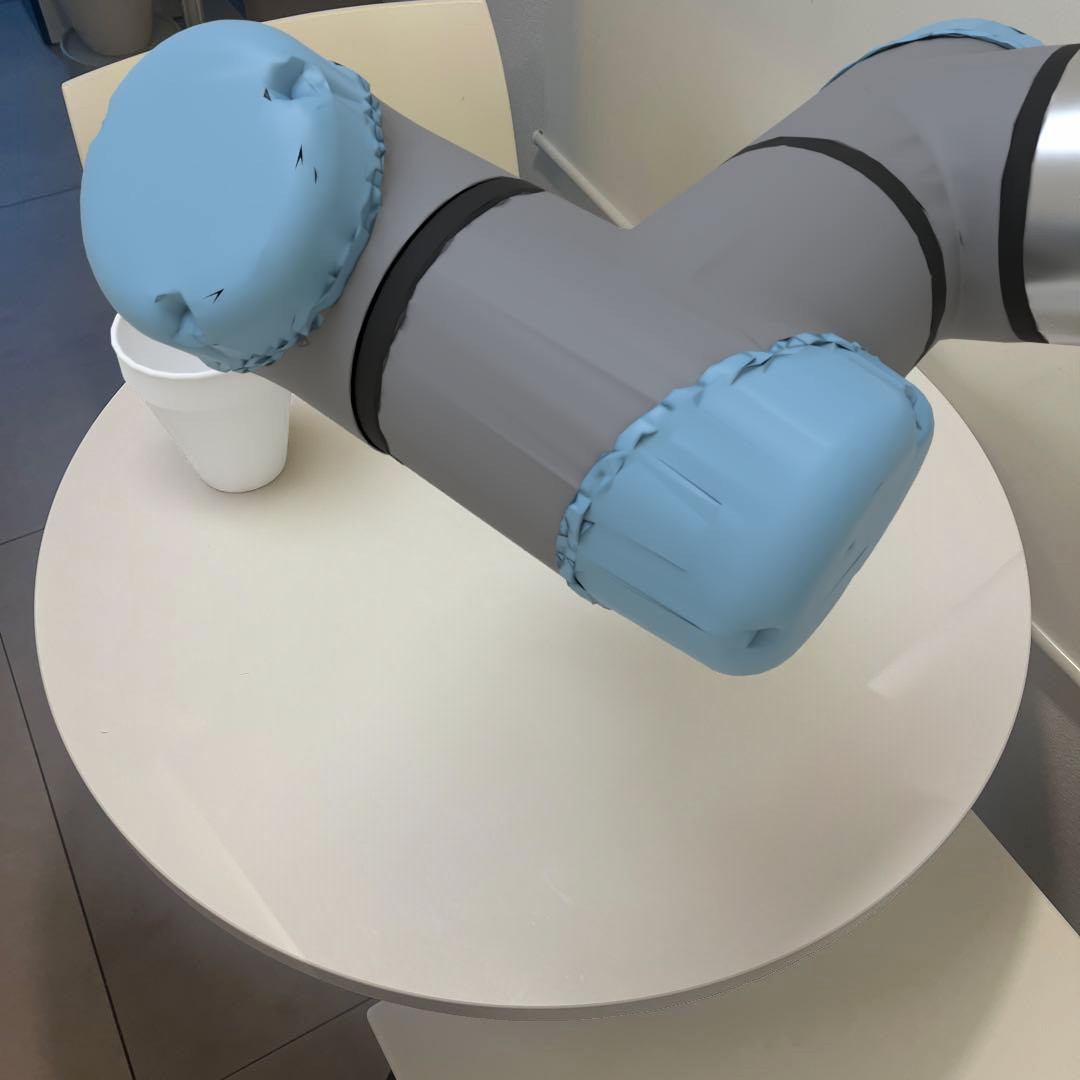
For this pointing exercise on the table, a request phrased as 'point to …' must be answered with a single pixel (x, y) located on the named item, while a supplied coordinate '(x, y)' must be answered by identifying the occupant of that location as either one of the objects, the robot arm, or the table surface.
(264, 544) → the table surface
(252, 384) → the cup
